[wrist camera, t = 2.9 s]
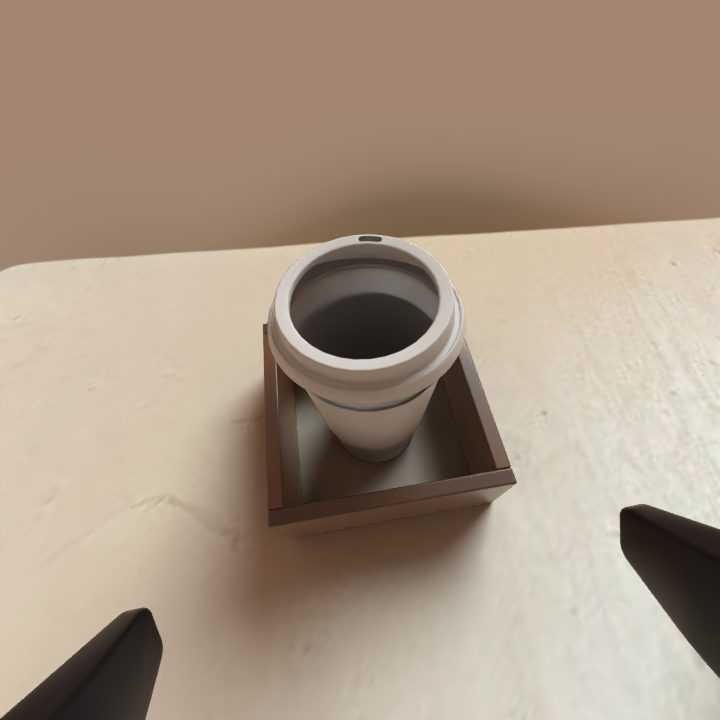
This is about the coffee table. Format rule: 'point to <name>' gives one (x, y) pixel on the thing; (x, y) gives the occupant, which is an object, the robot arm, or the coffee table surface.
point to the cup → (367, 337)
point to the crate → (389, 504)
